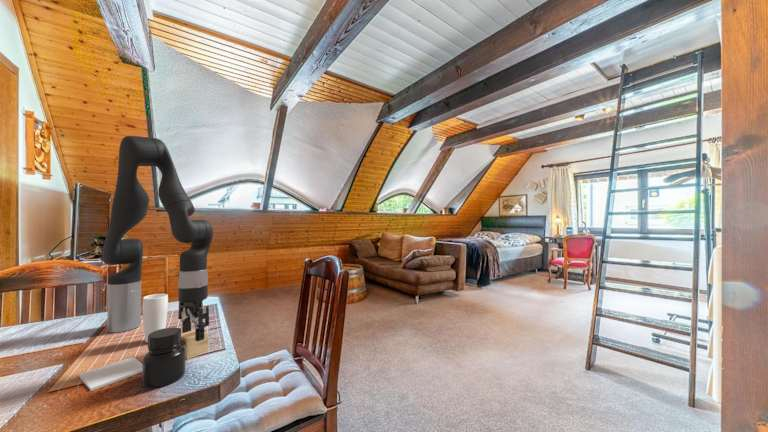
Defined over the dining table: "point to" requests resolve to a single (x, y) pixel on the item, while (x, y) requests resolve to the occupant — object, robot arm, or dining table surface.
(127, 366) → the white mat
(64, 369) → the dining table surface
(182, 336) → the lettered block
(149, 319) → the white cup
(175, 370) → the ink bottle
